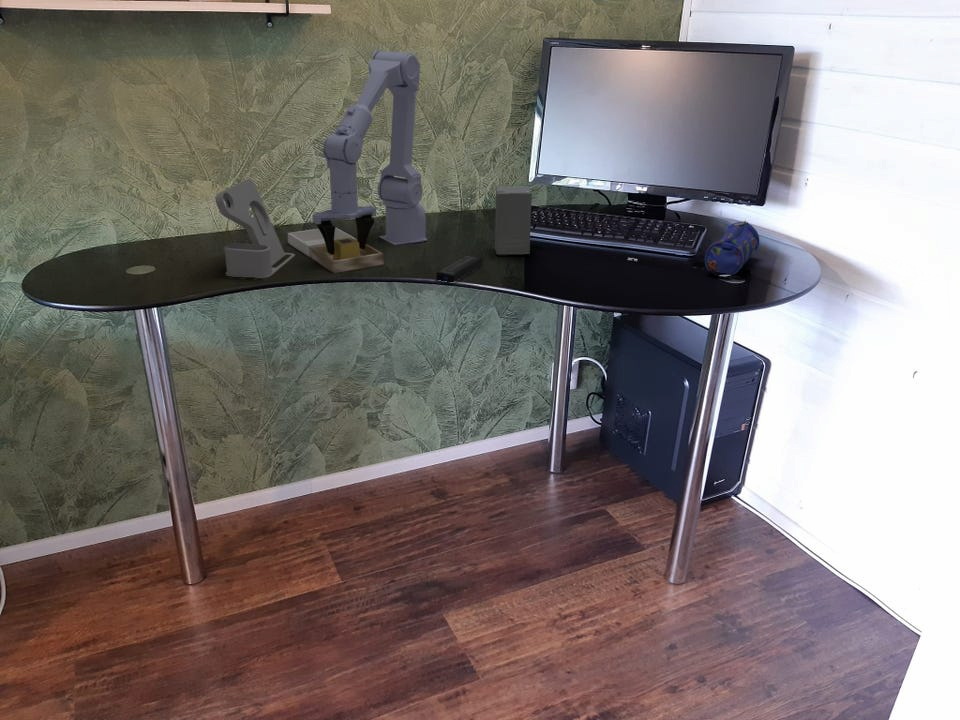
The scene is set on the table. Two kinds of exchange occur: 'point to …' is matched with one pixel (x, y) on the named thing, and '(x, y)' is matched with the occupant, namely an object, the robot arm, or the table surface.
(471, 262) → the multiport hub
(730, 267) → the pencil case
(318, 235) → the white tub
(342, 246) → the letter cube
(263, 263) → the phone holder
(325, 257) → the birch box
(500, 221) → the skincare box
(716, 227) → the table surface
